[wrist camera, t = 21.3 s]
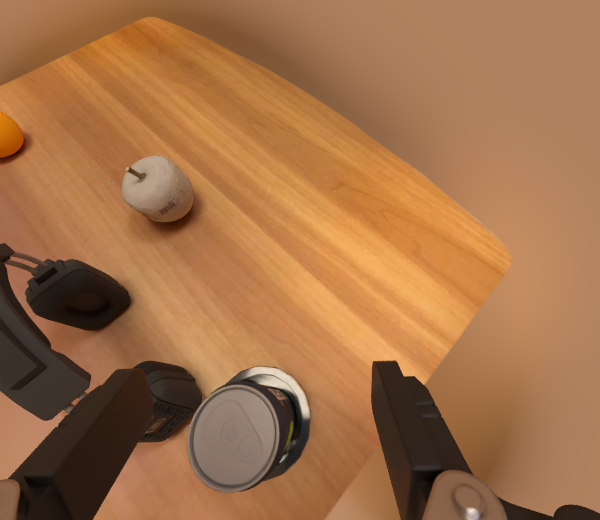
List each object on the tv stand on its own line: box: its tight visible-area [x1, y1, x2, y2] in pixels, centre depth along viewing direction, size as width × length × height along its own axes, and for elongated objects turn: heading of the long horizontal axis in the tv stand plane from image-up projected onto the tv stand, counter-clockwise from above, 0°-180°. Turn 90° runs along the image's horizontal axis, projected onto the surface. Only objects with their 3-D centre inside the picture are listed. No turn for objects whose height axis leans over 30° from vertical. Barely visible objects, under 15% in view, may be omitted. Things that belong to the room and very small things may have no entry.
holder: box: [226, 366, 311, 481], centre depth 30 cm, size 9×9×6 cm
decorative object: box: [122, 156, 194, 222], centre depth 40 cm, size 9×9×10 cm
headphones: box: [0, 243, 202, 442], centre depth 27 cm, size 22×6×20 cm, turn 45°
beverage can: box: [187, 381, 296, 493], centre depth 24 cm, size 6×6×15 cm
